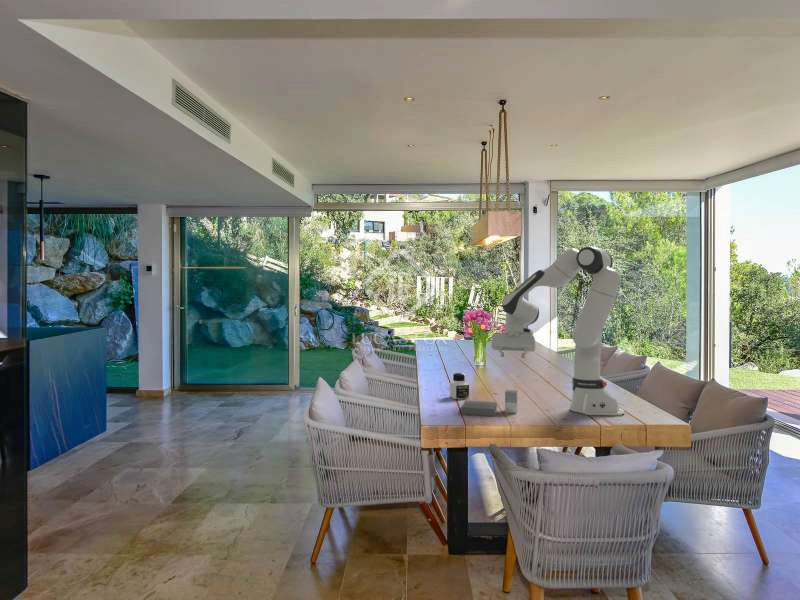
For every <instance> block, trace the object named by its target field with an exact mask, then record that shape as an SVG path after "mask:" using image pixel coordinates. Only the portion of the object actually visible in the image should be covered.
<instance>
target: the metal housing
mask: <svg viewBox="0 0 800 600" xmlns="http://www.w3.org/2000/svg"><path fill="white" fill-rule="evenodd" d="M505 413H506V414H518V390H514V389H512V390H511V389H505V392H504V414H505Z"/></svg>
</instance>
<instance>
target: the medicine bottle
mask: <svg viewBox="0 0 800 600" xmlns="http://www.w3.org/2000/svg"><path fill="white" fill-rule="evenodd" d="M466 376H467V374H465V373H463V372H455V373H453V375H452V382H449V397H450V398H451V397H452V398H451V399H454V400H456V399H459V400H467V399H468V398H469V399H470V384H469V383H467V382H466V380H467V379H466Z"/></svg>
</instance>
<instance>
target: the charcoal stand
mask: <svg viewBox="0 0 800 600" xmlns="http://www.w3.org/2000/svg"><path fill="white" fill-rule="evenodd" d="M497 407H498V403H497V401H484V400H480V401H479V400H467V399H464V402H463V404H462V405H461V407H460V414H461V415H467V414H471V415H470V416H483V415H484V416H485V417H486V416H488V417H495V416H494V415H496V412H497V410H496V409H497ZM484 416H483V417H484Z"/></svg>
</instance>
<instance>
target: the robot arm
mask: <svg viewBox="0 0 800 600" xmlns="http://www.w3.org/2000/svg"><path fill="white" fill-rule="evenodd" d="M613 263H614V259H613V257H612V255H611V254H610V253H609V252H607V251H605V250H603V249H602V248H601V247H595V246H591V245H590V246H589V245H588V246H583V247H582V248H581V249H580V250H578V249H577V248H573V247H572V248H571V247H570V248H568V249H567V250H565V251H563V253H561V254H560V255H559V256H558V257H557V258H556V259H555V261H554V262H552V264H551V265H549V266H548V267H546V268H545V269H539V270H537V271H535V272H534V273H533V274H531V275H530V276H529V277H528V278H527V279H526V280H524V281H523V282H522V283H521V284H519V286H517V287H516V288H515V289H514V290H512V291H511V292H509V293H508V294H506V296H504V298H503V299H502V301H501V306H502V309H503V312H504V313H506V315H505V326H504V332H494V333H493V334H491V349H492V350H493V351H498V352H499V354H500V357H501V358H504V357H505V352H504V351H508V352H509V351H513V352H521V358H522V359H525V358H526V355H527V354H528V352H531V353H533V352H535V351H536V338H535V336H534V333H533V332H534V331H533V330H532V328H531V329H530V328H527V327H528V326H530V325H533V324H534V323H536V322H537V321H538V319H539V317H540V309H539V306H537V305H536V304H534V303H532V302H531V301H529V300H527V299H526V298H524V297H525V296H526V295H528V294H529V293H530V292H531V291H532V290H534V289H535V288H536V287H549V288H554V289H556V288H557V289H558V288H564V287H566V285H568V284H569V283H570V282H571V281H572V279H574V277H575V276H576V275H577V274H578V273H579V272H580V271H584V272H586V273H588V274H589V275H591V276H592V282H591V285H590V287H589V291H588V293H587V296H586V298H585V301H584V304H583V307H582V308H581V311H580V313H579V316H578V317H577V321H576V322H575V325H574V327H573V330H572V333H571V337H572V341H573V343H574V344H575V346H574V357H573V377H572V379H571V380H572V381H571V384H572V385H571V386H572V387H571V389H572V396H571V402H570V405H569V410H570V411H572V412H575V413H579V414H583V415H587V416H623V415H622V414H624V415H625V410H624V409H623V408H622V407H620V406H619V405H620V404H619V401H618V398H617V397H616V395H614V394H613V393H612V392H611V391H609V390H608V389H607V388H606V387H607V385H608V382H607V381H605V380H603V379H601V356H602V343H603V342H602V341H603V340H602V339H603V329H604V327H605V325H606V322H607V320H608V318H609V315H610V313H611V311H612V308H613V305H614V302H615V300H616V297H617V294H618V291H619V288H620V283H621V274H620V273H619V272H618V271H617V270H616V269H614V268H612V267H613Z"/></svg>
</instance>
